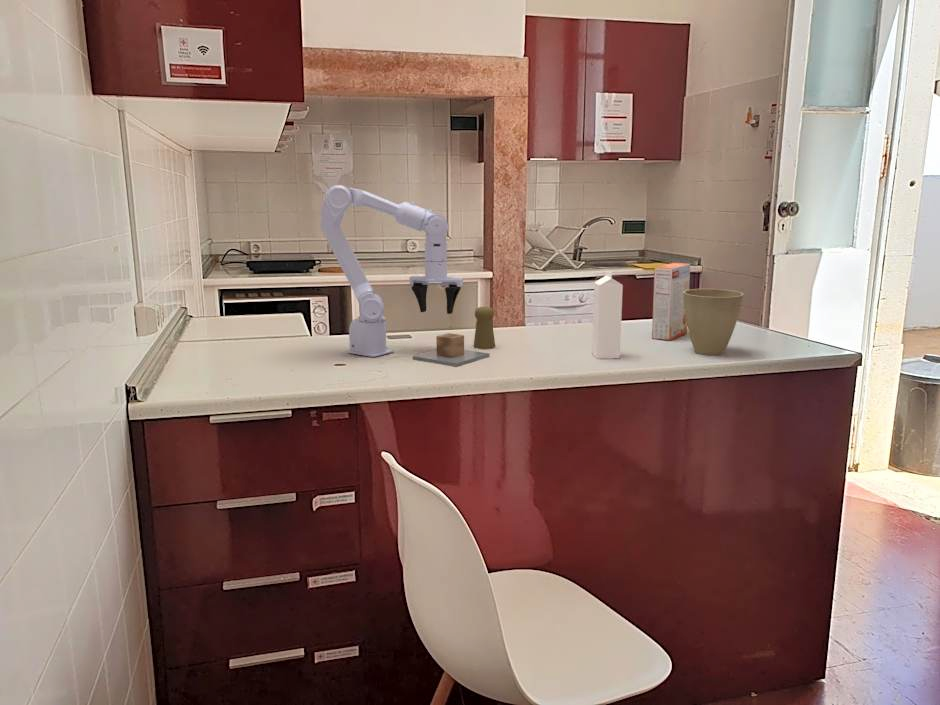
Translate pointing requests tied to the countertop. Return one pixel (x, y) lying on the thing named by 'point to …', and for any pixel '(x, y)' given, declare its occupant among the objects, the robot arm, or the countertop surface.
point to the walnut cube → (450, 345)
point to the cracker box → (670, 300)
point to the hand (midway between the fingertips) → (436, 312)
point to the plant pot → (711, 318)
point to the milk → (607, 318)
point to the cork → (484, 328)
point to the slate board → (456, 361)
